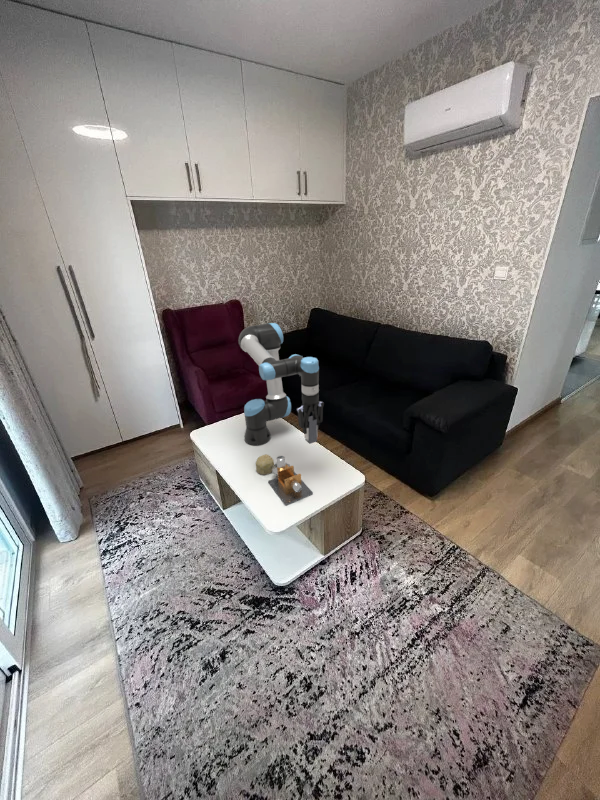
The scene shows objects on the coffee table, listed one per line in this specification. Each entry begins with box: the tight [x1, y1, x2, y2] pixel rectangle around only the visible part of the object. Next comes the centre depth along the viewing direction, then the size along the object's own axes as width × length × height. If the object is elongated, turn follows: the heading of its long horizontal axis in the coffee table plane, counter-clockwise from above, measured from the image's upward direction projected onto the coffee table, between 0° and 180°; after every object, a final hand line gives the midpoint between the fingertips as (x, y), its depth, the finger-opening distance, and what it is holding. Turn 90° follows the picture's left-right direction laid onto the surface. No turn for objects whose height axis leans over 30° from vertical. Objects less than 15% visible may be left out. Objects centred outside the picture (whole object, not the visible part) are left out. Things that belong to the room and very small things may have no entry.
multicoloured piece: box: [267, 455, 314, 507], centre depth 152 cm, size 22×14×12 cm, turn 29°
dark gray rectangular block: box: [304, 415, 318, 445], centre depth 153 cm, size 4×4×12 cm
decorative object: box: [255, 454, 275, 476], centre depth 165 cm, size 9×10×10 cm
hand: (311, 437), depth 155 cm, fingers closed on dark gray rectangular block, 4 cm apart
